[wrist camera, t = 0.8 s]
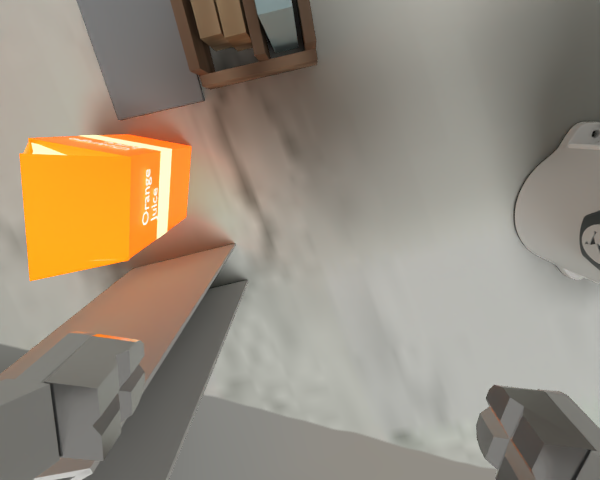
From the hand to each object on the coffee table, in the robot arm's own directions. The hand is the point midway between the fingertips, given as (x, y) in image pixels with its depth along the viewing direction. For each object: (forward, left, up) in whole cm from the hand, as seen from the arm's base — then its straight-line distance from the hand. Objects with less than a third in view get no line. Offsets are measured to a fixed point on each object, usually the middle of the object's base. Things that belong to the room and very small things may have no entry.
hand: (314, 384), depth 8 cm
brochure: (+18, +9, -34) cm, 40 cm away
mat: (+15, -20, -34) cm, 42 cm away
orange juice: (+18, -4, -34) cm, 39 cm away
